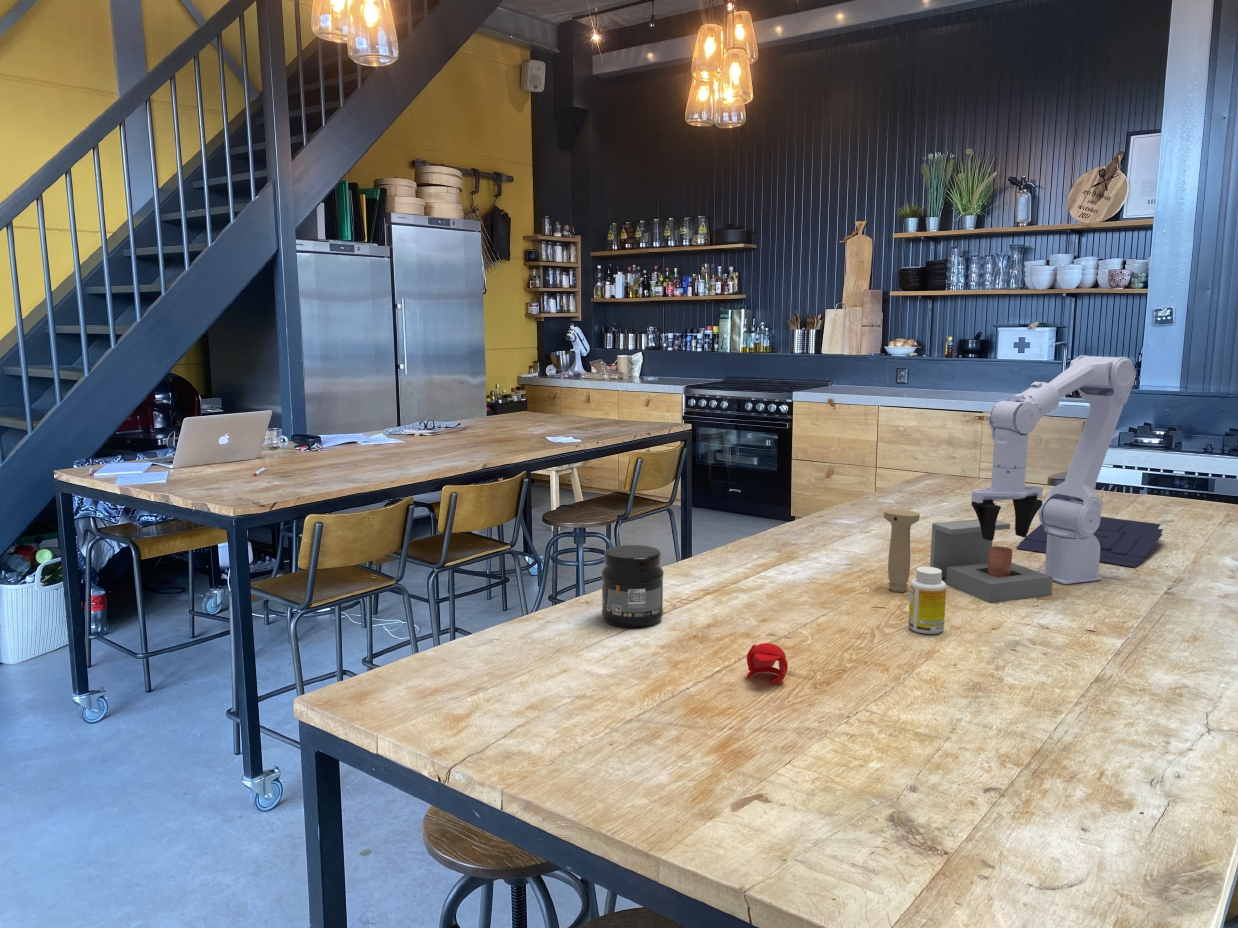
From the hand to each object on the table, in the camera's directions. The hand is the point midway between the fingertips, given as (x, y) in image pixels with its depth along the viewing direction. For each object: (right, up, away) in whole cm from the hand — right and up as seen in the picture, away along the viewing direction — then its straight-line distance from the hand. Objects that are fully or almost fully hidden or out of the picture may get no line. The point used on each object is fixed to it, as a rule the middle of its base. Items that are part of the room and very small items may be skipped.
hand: (1004, 537), depth 170 cm
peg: (0, -10, +2) cm, 10 cm away
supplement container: (-70, -13, -14) cm, 72 cm away
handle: (-19, -10, +2) cm, 22 cm away
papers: (+35, -5, +35) cm, 50 cm away
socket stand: (-1, -10, +4) cm, 11 cm away
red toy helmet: (-51, -17, -40) cm, 67 cm away
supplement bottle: (-21, -14, -20) cm, 32 cm away
